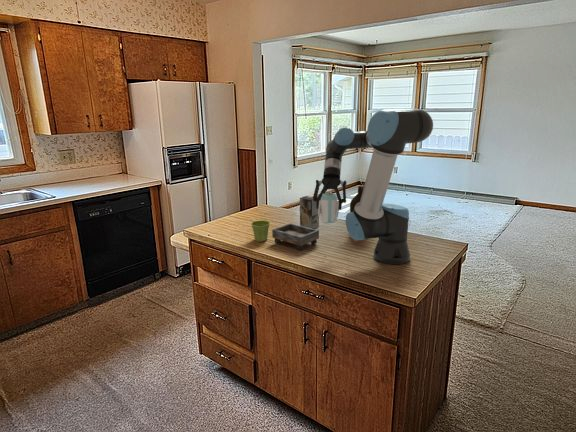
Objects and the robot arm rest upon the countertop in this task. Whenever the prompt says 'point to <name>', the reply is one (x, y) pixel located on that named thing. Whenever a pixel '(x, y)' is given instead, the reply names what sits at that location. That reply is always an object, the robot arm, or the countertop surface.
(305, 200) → the coffee box
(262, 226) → the plant pot
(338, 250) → the countertop surface
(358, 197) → the olive oil
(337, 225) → the countertop surface
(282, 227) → the grey rectangular tray
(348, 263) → the countertop surface
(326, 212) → the can
